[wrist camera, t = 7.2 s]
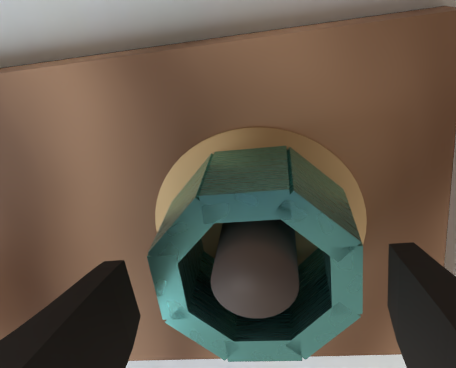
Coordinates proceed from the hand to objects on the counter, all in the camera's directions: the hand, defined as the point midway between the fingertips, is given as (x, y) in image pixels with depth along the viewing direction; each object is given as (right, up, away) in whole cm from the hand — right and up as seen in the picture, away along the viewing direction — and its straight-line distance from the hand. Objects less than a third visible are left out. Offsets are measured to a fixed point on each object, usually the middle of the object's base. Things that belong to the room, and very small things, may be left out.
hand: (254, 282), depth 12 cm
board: (-3, +2, +4) cm, 5 cm away
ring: (0, +1, +2) cm, 3 cm away
